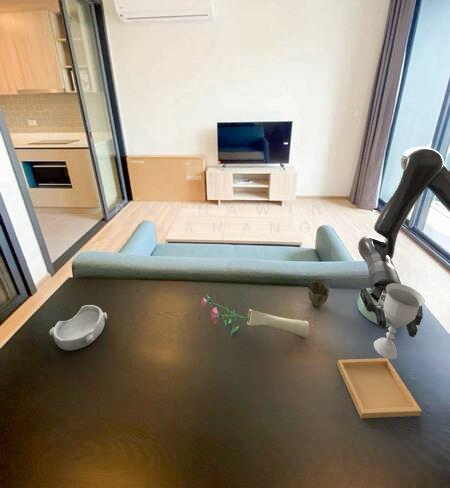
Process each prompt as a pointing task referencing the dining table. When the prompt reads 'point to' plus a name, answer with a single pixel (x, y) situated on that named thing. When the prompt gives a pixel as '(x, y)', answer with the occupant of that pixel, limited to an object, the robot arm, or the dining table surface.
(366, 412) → the tray
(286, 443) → the dining table surface
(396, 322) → the chalice
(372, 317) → the bowl
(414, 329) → the robot arm
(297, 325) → the flower vase
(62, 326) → the dish
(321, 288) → the cup
